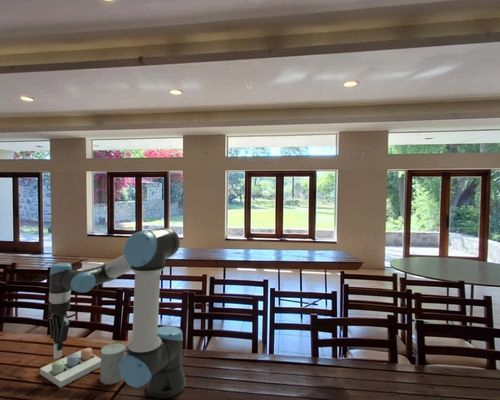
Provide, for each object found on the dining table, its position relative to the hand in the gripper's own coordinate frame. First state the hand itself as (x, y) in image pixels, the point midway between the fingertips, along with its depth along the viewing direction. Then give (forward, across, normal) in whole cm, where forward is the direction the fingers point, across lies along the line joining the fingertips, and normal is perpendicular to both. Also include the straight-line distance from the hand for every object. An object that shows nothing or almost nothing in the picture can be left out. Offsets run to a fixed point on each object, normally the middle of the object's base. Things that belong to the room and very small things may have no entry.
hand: (57, 356), depth 121 cm
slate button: (+7, 0, -6) cm, 9 cm away
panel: (+8, 0, -6) cm, 10 cm away
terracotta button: (+7, 0, -12) cm, 14 cm away
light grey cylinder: (+8, -19, -12) cm, 24 cm away
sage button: (+7, 0, 0) cm, 7 cm away
